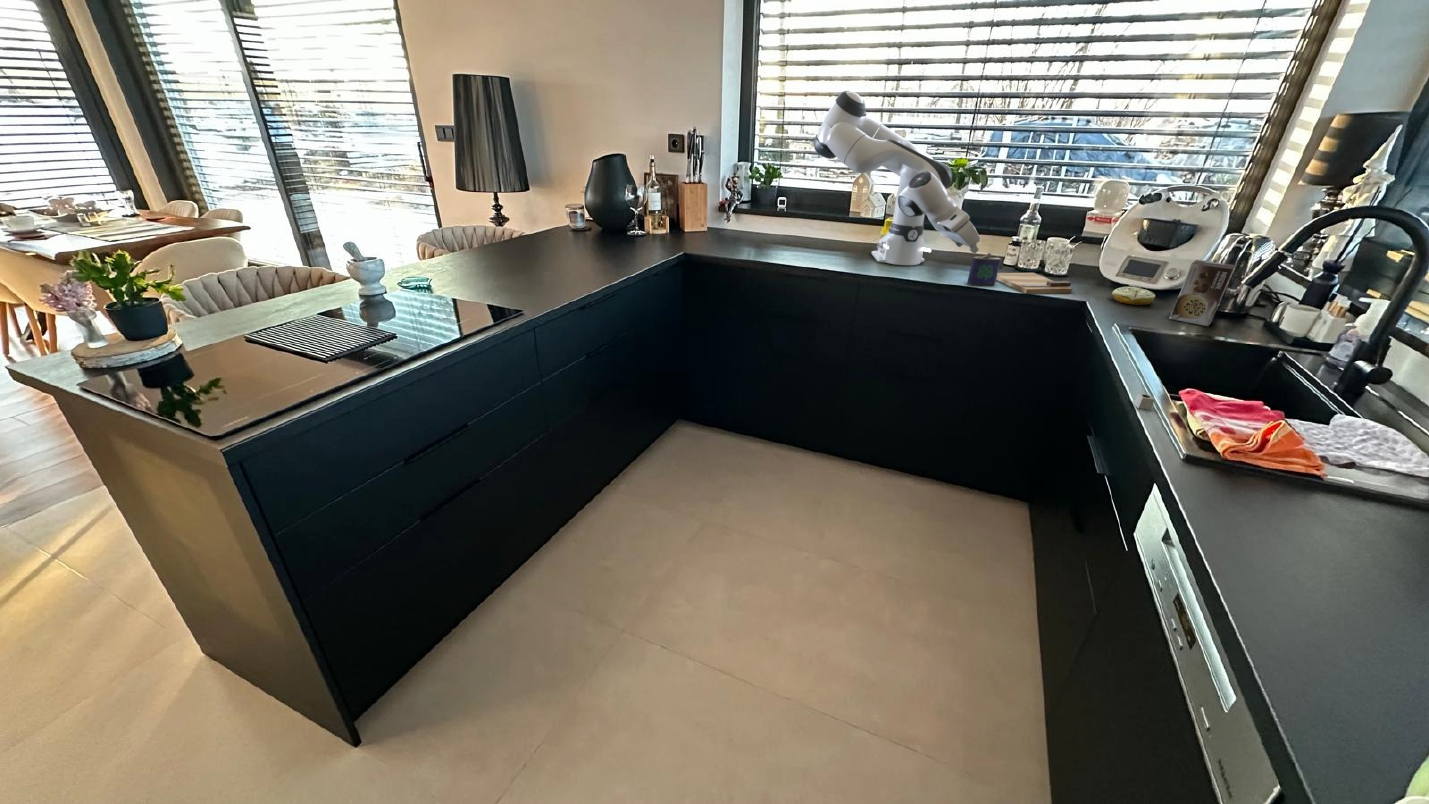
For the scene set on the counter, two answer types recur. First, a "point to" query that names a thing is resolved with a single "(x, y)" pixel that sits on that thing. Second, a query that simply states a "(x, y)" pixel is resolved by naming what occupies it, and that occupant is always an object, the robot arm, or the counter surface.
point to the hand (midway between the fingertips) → (968, 248)
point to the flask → (983, 270)
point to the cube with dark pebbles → (1144, 401)
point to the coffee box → (1202, 292)
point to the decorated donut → (1133, 295)
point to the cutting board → (1030, 278)
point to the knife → (1049, 284)
